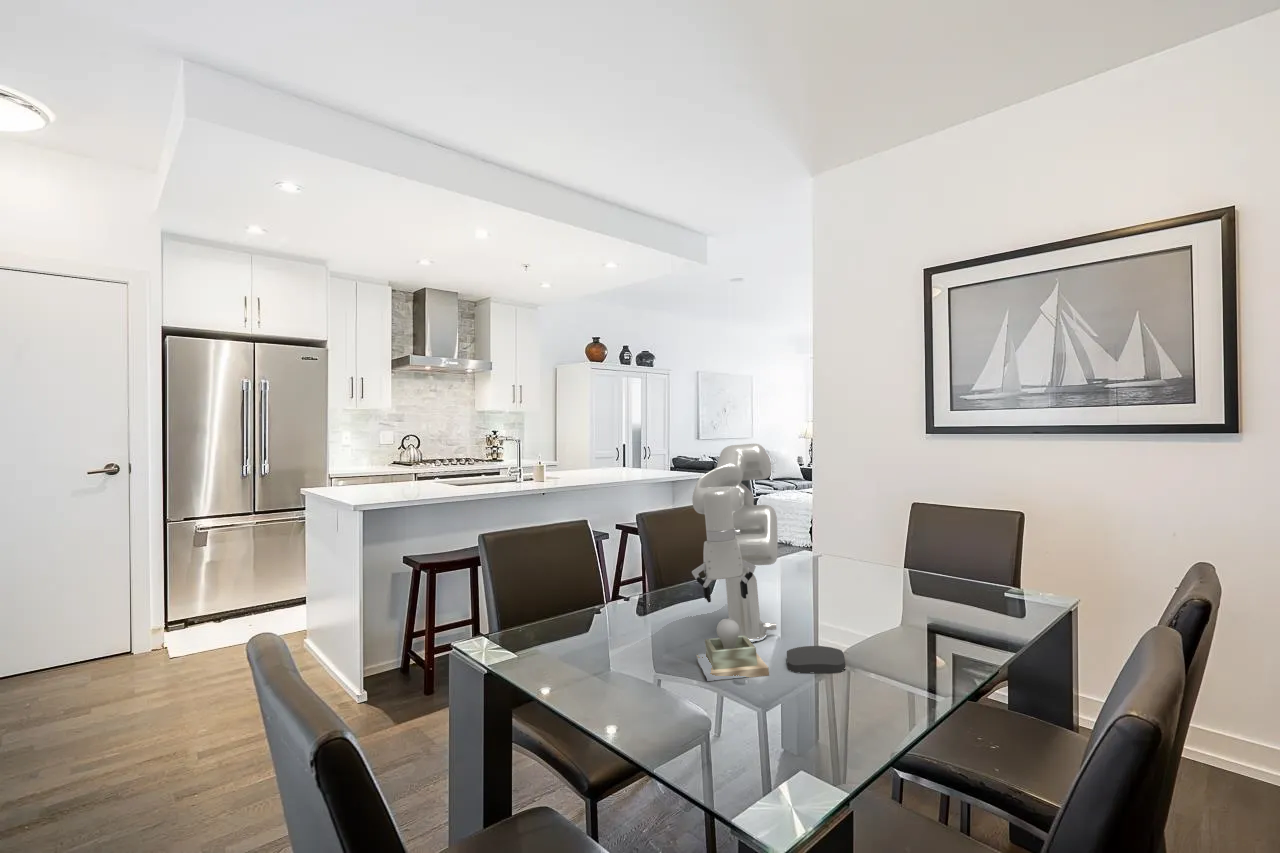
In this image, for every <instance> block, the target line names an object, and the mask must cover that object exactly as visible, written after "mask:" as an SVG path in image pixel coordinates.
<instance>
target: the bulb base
mask: <svg viewBox="0 0 1280 853" xmlns="http://www.w3.org/2000/svg"><path fill="white" fill-rule="evenodd" d="M704 643H705V645H704V647H705V653H706V657H707V658H708V660H709V662H710V663H711V665H712V668H711V673H710V674H712V675H715V676H733V675H734V676H736V675H737V676H738V675H739V676H746V677H749V678H758V677H759V678H760V677H767V676H770V670H769V669H770V668H769V666H768V665H767V664H766V663H765V661H764V660H763V658H761V656H760V655H759V654H758V653H757V647H756V646H755V645H754V643H751V641H750V640H749V639H748V638H747V637H746V636H745V635H744V636H738V638H737V640H736V645H735V648H734V649H724V648H723V644H722V642H721V640H720V638H719V637H715V638H714V637H713V638H706V639H704ZM697 656H698V655H697V654H696V657H697ZM698 658H700V657H699V656H698ZM702 658H703V657H702Z"/></svg>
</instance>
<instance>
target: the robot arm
mask: <svg viewBox="0 0 1280 853" xmlns="http://www.w3.org/2000/svg"><path fill="white" fill-rule="evenodd" d="M772 467H773V466H772V462H771V459H770V456H769V454H768V453H767V450H766V449H765V448H764V447H763V446H762V445H761V444H760V443H743V444H732V445H728V446H726V447H724V448H723V449H722V450H721V452H720V454H719V457H718V460H717V465H716V467H715V468H713V469H712V470H710V471H708V472H707V473H705V474H704V475H702V476H700V478H699V479H698V480H697V481H696V483H695V486H694V488H693V492H692V498H691V501H692V502H691V503H692V508H693V509H694V511H695V512H696V513H697V514H700V515H704V518H705V531H706V533H705V534H706V540H705V541H704V542H703V550H702V551H703V553H702V554H703V563H701V564H700V565H699V566H697V567H696V568H694V569H693V570H692V571H691V574H692V576H693V577H694V578H695V580H696V582H697V583H698V584H699V585H701V586H702V589H703V598H704V599H705V600H706V601H707V604H709V603H711V602H712V598H711V589H710V586H709V585H710V583H711V582H712V581H716V580H725V588H726V600H727V613H728V618H729V619H732V620H734V621H735V622H736V623H737V624H738V626H739V636H744V635H745V636H746V637H747V638H749V640H753V639H760V638H762V637H764V636H765V635H767V631H769V630H770V631H774V630H775V631H776V630H777V624H776V622H773V623H771V622H768V621H767V622H763V621H761V615H760V614H761V613H760V604H759V591H758V583H757V578H756V576H755V574H754V573H755V569H756V566H770V565H773V564H775V563H776V562H777V560H778V544H779V542H778V519H777V518H778V517H777V513H776V510H775V509H774V508H773V507H772V505H769V504H754V503H755V502H754V499H755V497H754V494H753V493H752V491H751V490H750V489H749V488H748V487H747V486H746V485H745V484H743V483H742V481H755V480H756V481H757V480H759V481H760V480H765V479H768V478H769V477H770V476H771V474H772V469H773V468H772ZM701 572H703V573H704V576H705V577H704V578H701V577H700V575H699V574H700V573H701ZM757 637H759V638H757Z"/></svg>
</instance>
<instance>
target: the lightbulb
mask: <svg viewBox="0 0 1280 853" xmlns="http://www.w3.org/2000/svg"><path fill="white" fill-rule="evenodd" d="M716 634H717V635H716V636H717V638H720V640H721V642H722V644H723V648H724V649H734V648H735V645H736V640H737V638H738V636H739V626H738V624H737V623H736V622H735V621H734V620H732V619H729V617H728V618H723V619H721V620H720V621H719V622H718V623H717V625H716Z"/></svg>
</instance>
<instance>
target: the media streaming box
mask: <svg viewBox="0 0 1280 853" xmlns="http://www.w3.org/2000/svg"><path fill="white" fill-rule="evenodd" d="M845 657H846V656H845V654H844V652H843V651H842V649H840V648H836V647H831V646H823V645H822V646H821V645H807V646H806V645H804V646H798V647H794V648H790V649H788V650H787V651H786V660H787V661H786V662H787V668H788V670H789V671H790V670H791V672H792V671H794V672H793V673H796V672H800V673H799V674H811V673H810V672H814V673H813V674H837V673H842V672H843V671H842V670H843V669H844V668H845V667H846V658H845ZM846 668H847V667H846ZM841 671H842V672H841Z"/></svg>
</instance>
